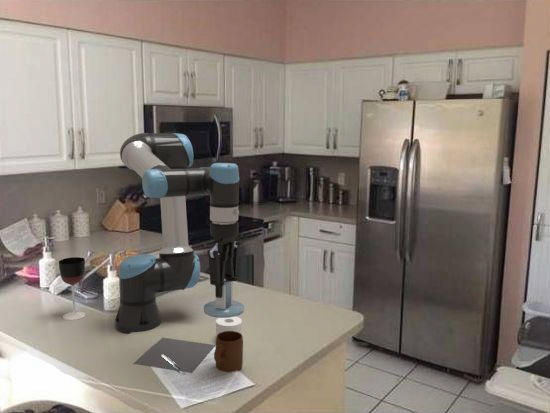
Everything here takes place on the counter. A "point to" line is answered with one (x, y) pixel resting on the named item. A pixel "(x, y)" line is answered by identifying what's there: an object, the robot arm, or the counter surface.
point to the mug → (229, 351)
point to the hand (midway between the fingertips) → (224, 305)
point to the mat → (175, 354)
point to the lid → (230, 310)
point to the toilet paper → (228, 325)
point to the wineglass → (72, 280)
